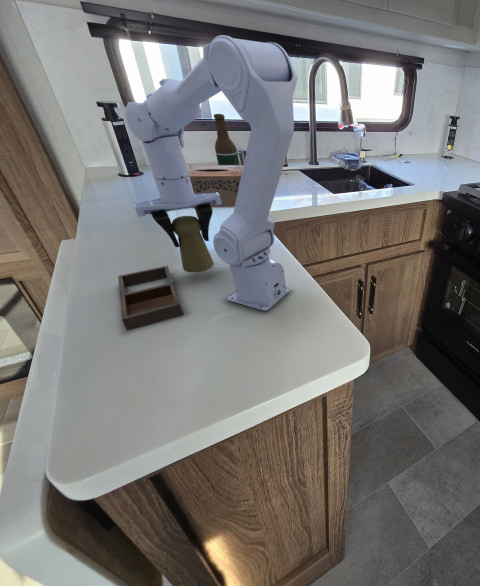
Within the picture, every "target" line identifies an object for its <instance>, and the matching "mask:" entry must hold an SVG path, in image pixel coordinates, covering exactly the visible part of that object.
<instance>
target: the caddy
mask: <svg viewBox="0 0 480 586" xmlns="http://www.w3.org/2000/svg"><path fill="white" fill-rule="evenodd" d="M117 278H118V279H117V280H118V292H119V303H120V316H121V321H122V323H123V325H124V327H125V329H126V331H131V330H134V329H137V328H141V327H145V326H148V325H151V324H155V323H158V322H163V321H166V320H169V319H173V318H176V317H181V316H183V315H184V312H183V308H182V305H181V302H180V299H179V295H178V293H177V289H176V286H175V283H174V279H173V276H172V274H171V271H170V269H169V266H168V265H164V266H159V267H154V268H149V269H145V270H140V271H135V272H130V273H126V274H121V275H118V276H117ZM162 279H167V282H168V283H165V284H160V285H156V286H152V287H148V288H144V289H143V288H142V289H139V290H134V291H131V292H128V287H132V286H136V285H140V284H144V283H149V282H154V281H158V280H162Z"/></svg>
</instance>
